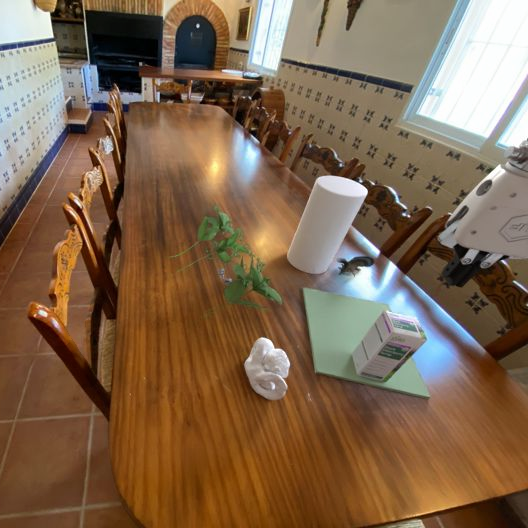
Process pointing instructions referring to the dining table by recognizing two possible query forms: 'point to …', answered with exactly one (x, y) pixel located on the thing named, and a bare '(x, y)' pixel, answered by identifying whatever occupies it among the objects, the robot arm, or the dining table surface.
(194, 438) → the dining table surface
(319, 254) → the cylinder
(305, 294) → the felt mat
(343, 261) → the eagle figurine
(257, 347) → the baby figurine
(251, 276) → the plant cuttings
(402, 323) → the syrup box
